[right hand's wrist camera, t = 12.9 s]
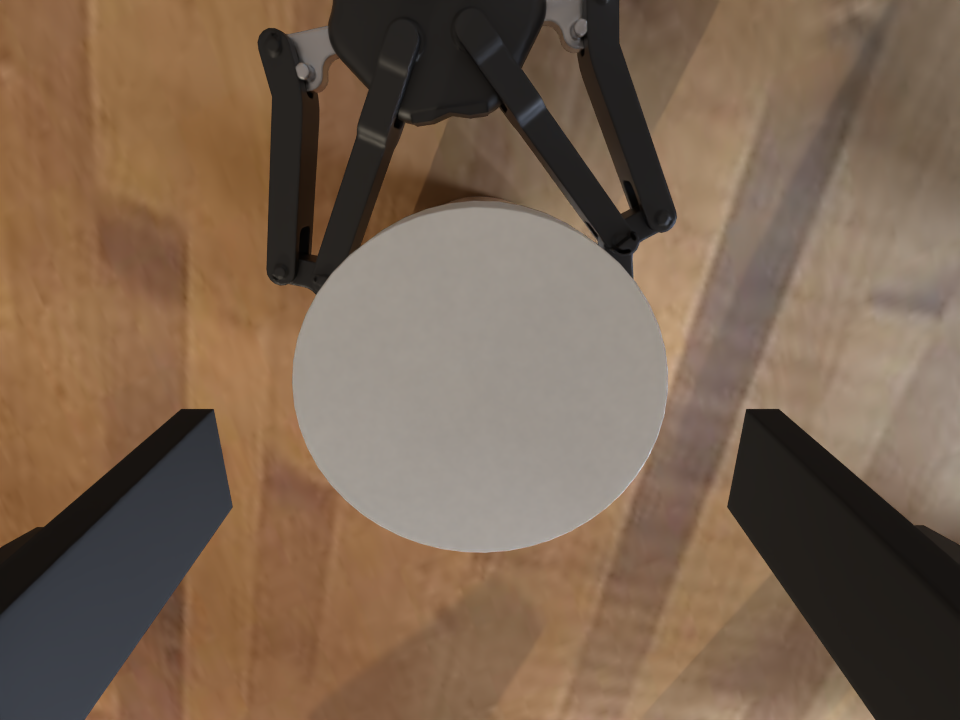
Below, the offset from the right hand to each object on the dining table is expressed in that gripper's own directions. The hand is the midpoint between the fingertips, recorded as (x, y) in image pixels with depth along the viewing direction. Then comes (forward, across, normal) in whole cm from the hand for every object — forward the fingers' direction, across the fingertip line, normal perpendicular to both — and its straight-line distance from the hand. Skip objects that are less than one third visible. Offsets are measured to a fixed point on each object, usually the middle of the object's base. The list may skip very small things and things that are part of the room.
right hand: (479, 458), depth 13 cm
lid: (+4, 0, 0) cm, 4 cm away
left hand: (+13, +1, -5) cm, 14 cm away
